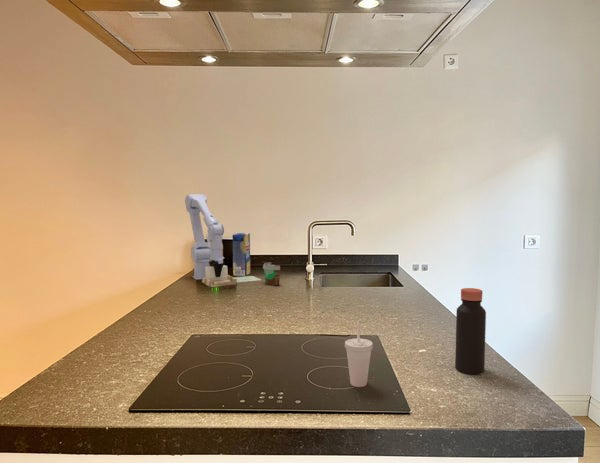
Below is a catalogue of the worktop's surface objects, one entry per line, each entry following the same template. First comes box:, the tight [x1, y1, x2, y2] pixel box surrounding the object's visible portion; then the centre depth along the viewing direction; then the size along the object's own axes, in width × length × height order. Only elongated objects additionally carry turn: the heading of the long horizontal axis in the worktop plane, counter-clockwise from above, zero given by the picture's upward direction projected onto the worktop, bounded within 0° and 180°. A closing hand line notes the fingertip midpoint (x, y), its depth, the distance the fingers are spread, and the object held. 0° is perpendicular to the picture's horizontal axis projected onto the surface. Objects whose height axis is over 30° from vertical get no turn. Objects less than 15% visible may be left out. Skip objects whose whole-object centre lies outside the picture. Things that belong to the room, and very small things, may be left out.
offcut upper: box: [213, 280, 231, 284], centre depth 219 cm, size 4×8×1 cm, turn 116°
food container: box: [262, 261, 281, 287], centre depth 219 cm, size 12×6×10 cm, turn 25°
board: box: [234, 275, 263, 284], centre depth 232 cm, size 13×13×1 cm
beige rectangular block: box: [205, 264, 229, 281], centre depth 225 cm, size 4×10×8 cm, turn 117°
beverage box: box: [232, 232, 251, 277], centre depth 247 cm, size 7×11×22 cm, turn 173°
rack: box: [201, 274, 238, 288], centre depth 222 cm, size 14×13×3 cm
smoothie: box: [344, 322, 374, 388], centre depth 104 cm, size 6×6×14 cm
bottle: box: [454, 287, 487, 375], centre depth 112 cm, size 7×7×20 cm
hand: (216, 276), depth 225 cm, fingers closed on beige rectangular block, 4 cm apart
